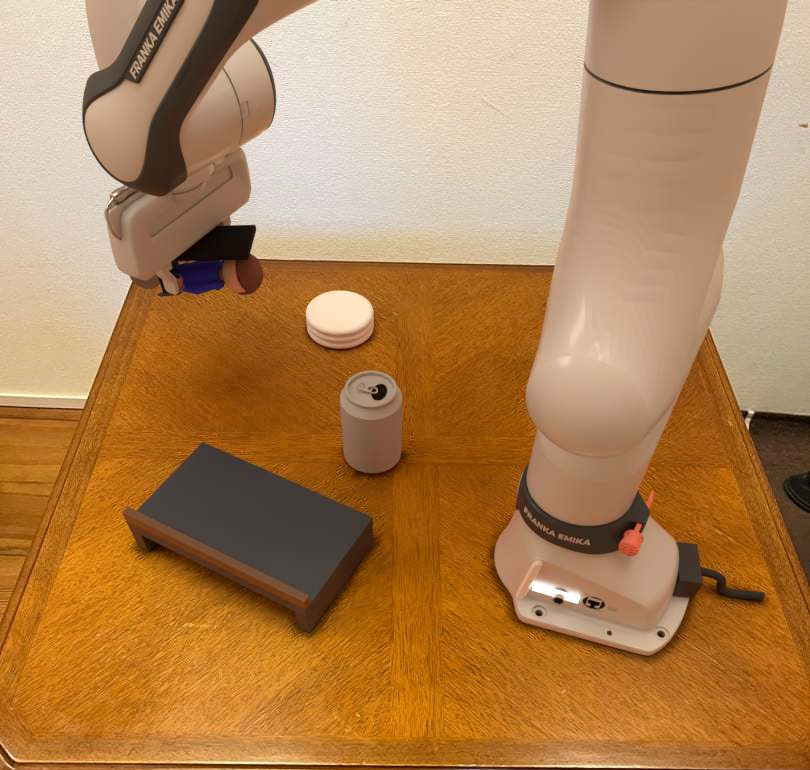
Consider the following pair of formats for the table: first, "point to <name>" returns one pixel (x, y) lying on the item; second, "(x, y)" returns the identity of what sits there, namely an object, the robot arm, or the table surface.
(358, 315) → the coaster
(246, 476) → the shelf
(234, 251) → the figurine character
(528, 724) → the table surface
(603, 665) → the table surface
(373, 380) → the can
